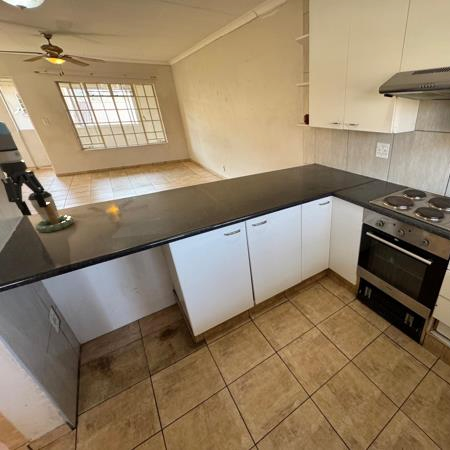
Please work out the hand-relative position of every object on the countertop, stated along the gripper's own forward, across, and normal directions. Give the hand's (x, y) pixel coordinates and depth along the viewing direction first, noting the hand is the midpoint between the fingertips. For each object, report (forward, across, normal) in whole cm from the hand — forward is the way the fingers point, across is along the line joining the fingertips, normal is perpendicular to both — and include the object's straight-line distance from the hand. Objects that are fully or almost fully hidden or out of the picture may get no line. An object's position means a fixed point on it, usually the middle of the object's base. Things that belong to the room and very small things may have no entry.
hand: (36, 211), depth 112 cm
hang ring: (+9, +6, 0) cm, 11 cm away
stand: (+12, +7, 0) cm, 14 cm away
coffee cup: (+12, +21, +11) cm, 27 cm away
